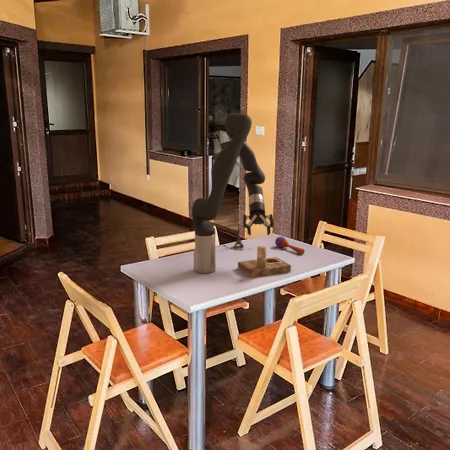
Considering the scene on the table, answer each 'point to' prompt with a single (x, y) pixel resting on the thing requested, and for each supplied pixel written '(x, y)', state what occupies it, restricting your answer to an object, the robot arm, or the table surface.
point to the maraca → (287, 245)
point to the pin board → (272, 267)
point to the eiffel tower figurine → (237, 248)
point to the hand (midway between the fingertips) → (259, 234)
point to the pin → (261, 256)
